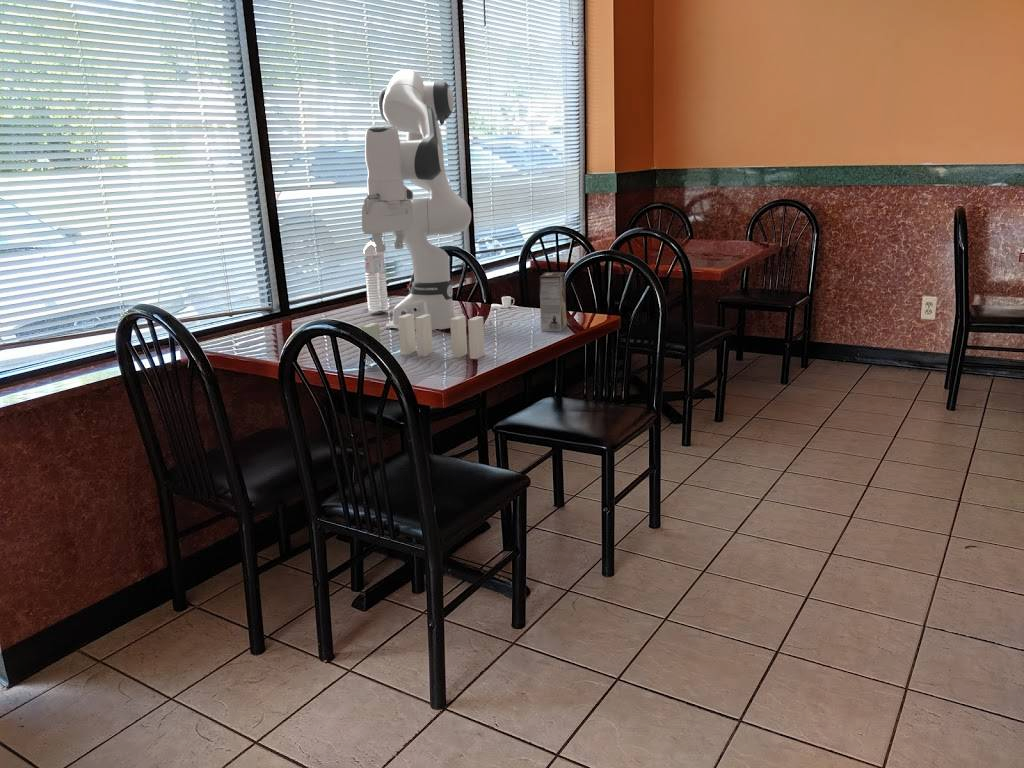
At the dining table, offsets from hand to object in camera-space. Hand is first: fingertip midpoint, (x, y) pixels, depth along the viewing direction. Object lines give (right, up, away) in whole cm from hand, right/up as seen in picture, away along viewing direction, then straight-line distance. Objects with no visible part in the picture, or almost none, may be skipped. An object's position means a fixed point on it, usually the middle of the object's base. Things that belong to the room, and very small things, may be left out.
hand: (390, 250), depth 207 cm
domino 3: (+8, -25, +11) cm, 29 cm away
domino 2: (+3, -25, +13) cm, 28 cm away
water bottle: (-15, -8, +77) cm, 79 cm away
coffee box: (+43, -17, +37) cm, 59 cm away
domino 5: (+22, -26, +6) cm, 35 cm away
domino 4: (+17, -26, +8) cm, 32 cm away
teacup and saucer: (+27, -8, +75) cm, 80 cm away
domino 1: (-5, -28, +2) cm, 29 cm away
